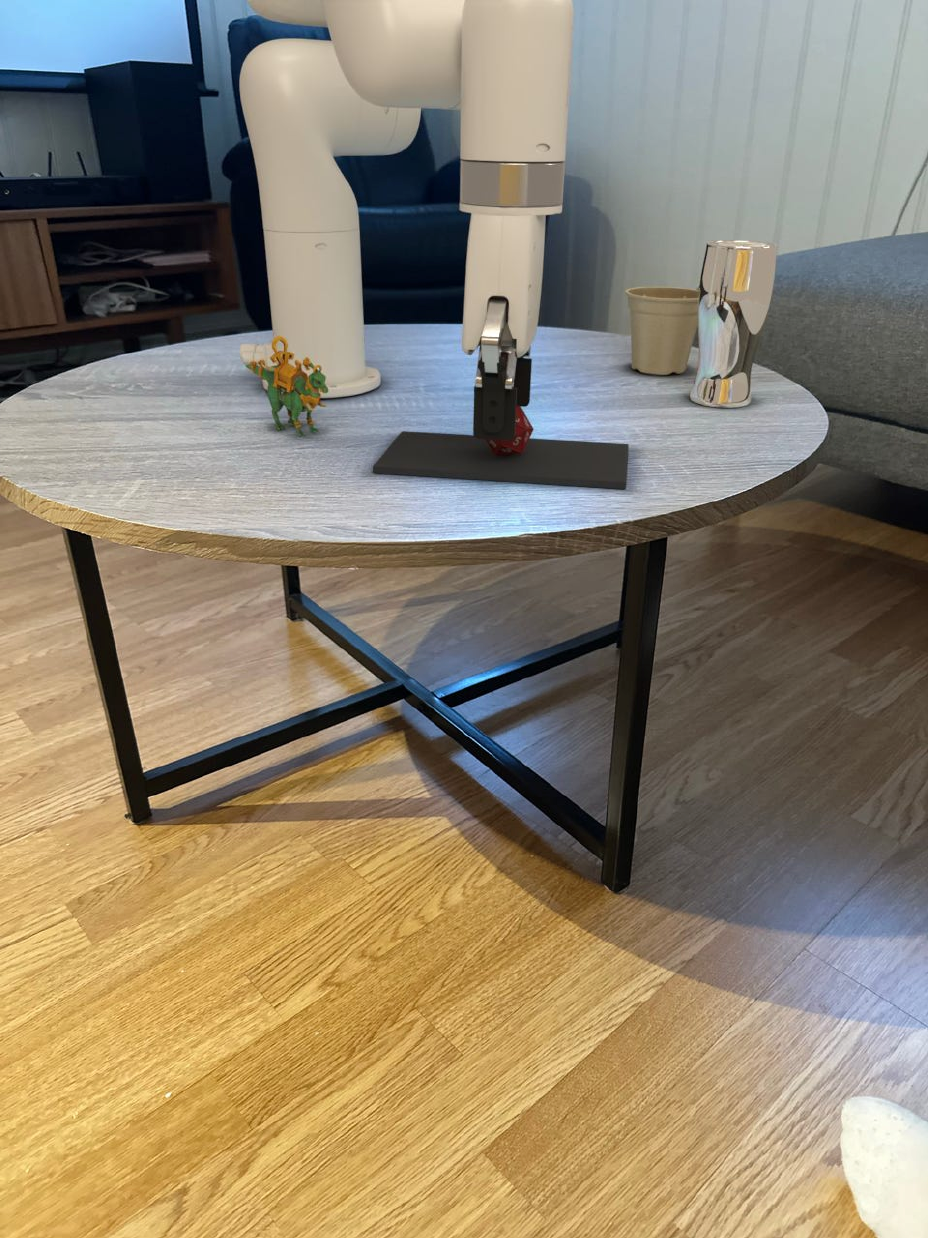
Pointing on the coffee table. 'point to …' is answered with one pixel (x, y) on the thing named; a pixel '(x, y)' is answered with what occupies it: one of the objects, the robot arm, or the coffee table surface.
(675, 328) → the flower pot
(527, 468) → the mat
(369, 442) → the coffee table surface
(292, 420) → the figurine
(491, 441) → the dice
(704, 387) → the beer glass
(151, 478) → the coffee table surface
